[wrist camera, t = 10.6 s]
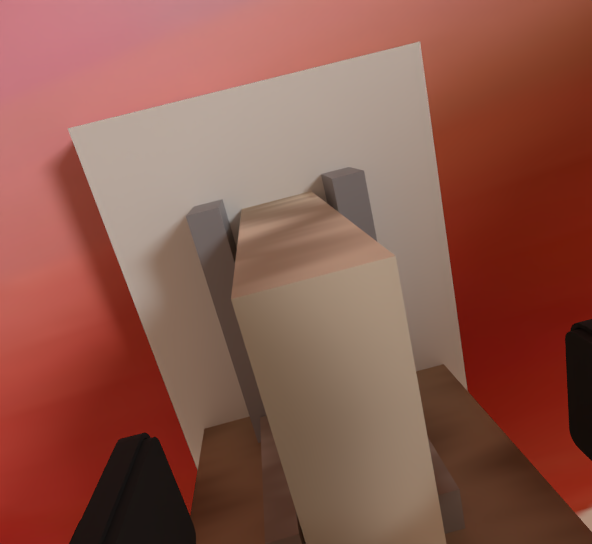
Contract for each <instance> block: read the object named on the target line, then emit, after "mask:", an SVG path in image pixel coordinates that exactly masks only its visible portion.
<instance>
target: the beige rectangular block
mask: <svg viewBox="0 0 592 544" xmlns="http://www.w3.org/2000/svg"><path fill="white" fill-rule="evenodd" d="M231 301H232V304H233V308H234V311H235V314H236V317H237V321H238V324H239V327H240V330H241V334H242V337H243V340H244V343H245V347H246V350H247V353H248V356H249V360H250V363H251V366H252V369H253V373H254V376H255V379H256V382H257V386H258V389H259V392H260V395H261V399H262V402H263V405H264V408H265V412H266V415H267V418H268V422H269V425H270V428H271V431H272V435H273V438H274V441H275V444H276V448H277V451H278V454H279V457H280V461H281V464H282V467H283V470H284V474H285V477H286V480H287V483H288V487H289V490H290V493H291V496H292V500H293V503H294V506H295V509H296V513H297V516H298V519H299V522H300V526H301V529H302V532H303V535H304V539H305V542H306V544H446V538H445V532H444V527H443V521H442V515H441V510H440V504H439V498H438V493H437V487H436V481H435V476H434V470H433V464H432V459H431V453H430V447H429V442H428V436H427V431H426V425H425V419H424V414H423V408H422V402H421V397H420V391H419V385H418V380H417V374H416V368H415V363H414V357H413V351H412V346H411V340H410V334H409V329H408V323H407V318H406V312H405V306H404V301H403V295H402V289H401V284H400V278H399V272H398V267H397V261H396V256H395V255H394V254H393V253H391V252H390V251H389V250H387V249H386V248H385V247H383V246H382V245H381V244H379V243H378V242H377V241H376V240H374V239H373V238H372V237H370V236H369V235H368V234H366V233H365V232H364V231H363V230H361V229H360V228H359V227H357V226H356V225H355V224H353V223H352V222H351V221H349V220H348V219H347V218H346V217H344V216H343V215H342V214H340V213H339V212H338V211H336V210H335V209H334V208H333V207H331V206H330V205H329V204H327V203H326V202H325V201H323V200H322V199H321V198H320V197H318V196H317V195H316V194H314V193H313V192H312V191H310V192H306V193H302V194H298V195H294V196H290V197H287V198H283V199H279V200H275V201H271V202H267V203H263V204H259V205H255V206H252V207H248V208H244V209H242V210H241V219H240V227H239V235H238V244H237V252H236V261H235V269H234V277H233V286H232V294H231Z"/></svg>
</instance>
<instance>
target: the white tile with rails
mask: <svg viewBox="0 0 592 544" xmlns="http://www.w3.org/2000/svg"><path fill="white" fill-rule="evenodd" d="M68 130H69V133H70V136H71V138H72V141H73V144H74V146H75V149H76V151H77V154H78V157H79V159H80V162H81V165H82V167H83V170H84V173H85V175H86V178H87V180H88V183H89V186H90V188H91V191H92V194H93V196H94V199H95V201H96V204H97V207H98V209H99V212H100V215H101V217H102V220H103V223H104V225H105V228H106V230H107V233H108V236H109V238H110V241H111V244H112V246H113V249H114V252H115V254H116V257H117V259H118V262H119V265H120V267H121V270H122V273H123V275H124V278H125V280H126V283H127V286H128V288H129V291H130V294H131V296H132V299H133V302H134V304H135V307H136V309H137V312H138V315H139V317H140V320H141V323H142V325H143V328H144V331H145V333H146V336H147V338H148V341H149V344H150V346H151V349H152V352H153V354H154V357H155V359H156V362H157V365H158V367H159V370H160V373H161V375H162V378H163V381H164V383H165V386H166V388H167V391H168V394H169V396H170V399H171V402H172V404H173V407H174V409H175V412H176V415H177V417H178V420H179V423H180V425H181V428H182V431H183V433H184V436H185V438H186V441H187V444H188V446H189V449H190V452H191V454H192V457H193V460H194V462H195V465H196V467H197V470H198V465H199V458H200V452H201V446H202V440H203V433H204V429H205V428H209V427H212V426H216V425H220V424H224V423H227V422H231V421H235V420H238V419H242V418H246V417H250V419H251V422H252V425H253V428H254V432H255V435H256V438H257V441H258V443H260V442H261V429H260V417H263V416H266V412H265V408H264V405H263V402H262V399H261V395H260V392H259V389H258V386H257V382H256V379H255V376H254V373H253V369H252V366H251V363H250V360H249V356H248V353H247V350H246V347H245V343H244V340H243V337H242V334H241V330H240V327H239V324H238V321H237V317H236V314H235V311H234V308H233V304H232V301H231V294H232V286H233V277H234V269H235V261H236V252H237V244H238V235H239V227H240V219H241V210H242V209H244V208H248V207H252V206H255V205H259V204H263V203H267V202H271V201H275V200H279V199H283V198H287V197H290V196H294V195H298V194H302V193H306V192H310V191H312V192H313V193H314V194H316V195H317V196H318V197H320V198H321V199H322V200H323V201H325V202H326V203H327V204H329V205H330V206H331V207H333V208H334V209H335V210H336V211H338V212H339V213H340V214H342V215H343V216H344V217H346V218H347V219H348V220H349V221H351V222H352V223H353V224H355V225H356V226H357V227H359V228H360V229H361V230H363V231H364V232H365V233H366V234H368V235H369V236H370V237H372V238H373V239H374V240H376V241H377V242H378V243H379V244H381V245H382V246H383V247H385V248H386V249H387V250H389V251H390V252H391V253H393V254H394V255H395V256H396V261H397V267H398V272H399V278H400V284H401V289H402V295H403V301H404V306H405V312H406V318H407V323H408V329H409V334H410V340H411V346H412V351H413V357H414V363H415V368H416V371H420V370H424V369H427V368H431V367H435V366H438V365H442V364H444V365H445V366H446V367H447V368H448V370H449V371H450V372H451V373H452V374H453V375H454V376H455V378H456V379H457V380H458V381H459V382H460V383H461V384H462V385H463V387H464V388H465V389H466V390H467V383H466V375H465V368H464V361H463V353H462V346H461V339H460V331H459V324H458V317H457V309H456V302H455V295H454V287H453V280H452V273H451V265H450V258H449V251H448V243H447V236H446V228H445V221H444V214H443V206H442V199H441V192H440V184H439V177H438V170H437V162H436V155H435V148H434V140H433V133H432V126H431V118H430V111H429V104H428V96H427V89H426V82H425V74H424V67H423V60H422V52H421V45H420V42H416V43H412V44H408V45H404V46H400V47H396V48H392V49H388V50H384V51H380V52H376V53H372V54H368V55H363V56H359V57H355V58H351V59H347V60H343V61H339V62H335V63H331V64H327V65H323V66H319V67H315V68H311V69H307V70H303V71H299V72H295V73H291V74H287V75H283V76H278V77H274V78H270V79H266V80H262V81H258V82H254V83H250V84H246V85H242V86H238V87H234V88H230V89H226V90H222V91H218V92H214V93H210V94H206V95H202V96H198V97H193V98H189V99H185V100H181V101H177V102H173V103H169V104H165V105H161V106H157V107H153V108H149V109H145V110H141V111H137V112H133V113H129V114H125V115H121V116H117V117H113V118H108V119H104V120H100V121H96V122H92V123H88V124H84V125H80V126H76V127H72V128H68ZM467 391H468V390H467Z"/></svg>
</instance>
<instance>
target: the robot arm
mask: <svg viewBox="0 0 592 544" xmlns="http://www.w3.org/2000/svg"><path fill="white" fill-rule="evenodd" d="M565 344H566V366H567V388H568V409H569V430H570V434H571V437H572V439H573V441H574V443H575V444H576V445H577V447H578V448H579V449H580V450H581V451H582V452H583V453H584V454H585V455H586V456H587V457H588V458H589V459H590V460H592V319H590V320H586V321H582V322H578V323H575V324H574V325H572V327H571V331H570V332H568V333H567V334H566V337H565ZM69 544H196V532H195V528H194V525H193V522H192V520H191V517H190V515H189V512H188V510H187V508H186V505H185V503H184V500H183V498H182V495H181V493H180V490H179V488H178V486H177V483H176V481H175V478H174V476H173V473H172V471H171V468H170V466H169V464H168V461H167V459H166V456H165V454H164V451H163V449H162V447H161V444H160V442H159V440H158V439H157V438H156V437H153V438H150V436H149V435H148V434H147V433H142V434H138V435H134V436H130V437H126V438H122V439H120V440H118V442H117V443H116V446H115V448H114V450H113V452H112V454H111V456H110V459H109V461H108V463H107V465H106V467H105V469H104V471H103V474H102V476H101V478H100V480H99V482H98V484H97V487H96V489H95V491H94V493H93V495H92V497H91V500H90V502H89V504H88V506H87V508H86V510H85V512H84V515H83V517H82V519H81V520H80V522H79V524H78V526H77V528H76V530H75V532H74V534H73V536H72V539H71V541H70V543H69Z"/></svg>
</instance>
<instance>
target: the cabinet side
mask: <svg viewBox="0 0 592 544" xmlns="http://www.w3.org/2000/svg"><path fill="white" fill-rule="evenodd" d="M416 374H417V380H418V385H419V391H420V397H421V402H422V408H423V414H424V419H425V425H426V431H427V436H428V442H429V447H430V453H431V459H432V464H433V470H434V476H435V481H436V487H437V493H438V498H439V504H440V510H441V515H442V521H443V527H444V532H445V538H446V544H592V532H591V531H590V530H589V528H588V527H587V526H586V525H585V524H584V523H583V522H582V521H581V519H580V518H579V517H578V516H577V515H576V514H575V513H574V511H573V510H572V509H571V508H570V507H569V506H568V505H567V503H566V502H565V501H564V500H563V499H562V498H561V497H560V495H559V494H558V493H557V492H556V491H555V490H554V489H553V488H552V486H551V485H550V484H549V483H548V482H547V481H546V480H545V478H544V477H543V476H542V475H541V474H540V473H539V472H538V471H537V469H536V468H535V467H534V466H533V465H532V464H531V463H530V461H529V460H528V459H527V458H526V457H525V456H524V455H523V454H522V452H521V451H520V450H519V449H518V448H517V447H516V446H515V444H514V443H513V442H512V441H511V440H510V439H509V438H508V436H507V435H506V434H505V433H504V432H503V431H502V430H501V429H500V427H499V426H498V425H497V424H496V423H495V422H494V421H493V419H492V418H491V417H490V416H489V415H488V414H487V413H486V412H485V410H484V409H483V408H482V407H481V406H480V405H479V404H478V402H477V401H476V400H475V399H474V398H473V397H472V396H471V395H470V393H469V392H468V391H467V390H466V389H465V388H464V387H463V385H462V384H461V383H460V382H459V381H458V380H457V379H456V378H455V376H454V375H453V374H452V373H451V372H450V371H449V370H448V368H447V367H446V366H445V365H444V364H442V365H438V366H435V367H431V368H427V369H424V370H420V371H416ZM260 429H261V442H260V443H258V441H257V438H256V435H255V432H254V428H253V425H252V422H251V419H250V417H246V418H242V419H238V420H235V421H231V422H227V423H224V424H220V425H216V426H212V427H209V428H205V429H204V433H203V440H202V446H201V452H200V458H199V465H198V471H197V477H196V484H195V490H194V496H193V503H192V509H191V515H190V517H191V520H192V522H193V525H194V528H195V532H196V544H306V542H305V539H304V535H303V532H302V529H301V526H300V522H299V519H298V516H297V513H296V509H295V506H294V503H293V500H292V496H291V493H290V490H289V487H288V483H287V480H286V477H285V474H284V470H283V467H282V464H281V461H280V457H279V454H278V451H277V448H276V444H275V441H274V438H273V435H272V431H271V428H270V425H269V422H268V418H267V415H266V416H263V417H260Z"/></svg>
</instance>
